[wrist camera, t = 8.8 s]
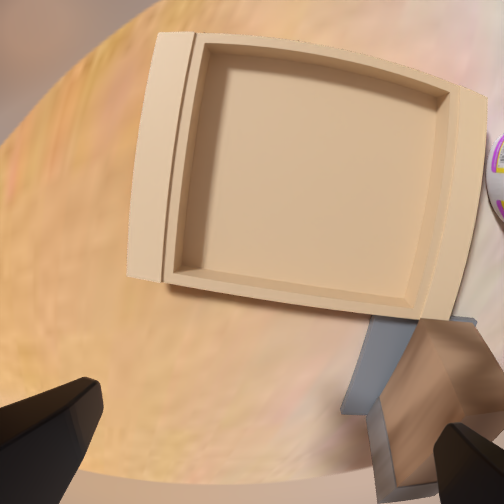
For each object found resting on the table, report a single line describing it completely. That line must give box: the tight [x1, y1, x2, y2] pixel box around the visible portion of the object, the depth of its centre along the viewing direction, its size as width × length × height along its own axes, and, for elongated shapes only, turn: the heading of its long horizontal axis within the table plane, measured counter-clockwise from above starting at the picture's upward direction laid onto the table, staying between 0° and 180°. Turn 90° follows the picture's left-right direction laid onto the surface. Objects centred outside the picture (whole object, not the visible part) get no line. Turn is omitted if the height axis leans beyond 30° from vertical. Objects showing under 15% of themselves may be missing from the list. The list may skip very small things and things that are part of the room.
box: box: [366, 318, 504, 504], centre depth 14 cm, size 4×9×7 cm, turn 172°
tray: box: [127, 32, 487, 321], centre depth 16 cm, size 18×13×2 cm
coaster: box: [340, 315, 477, 415], centre depth 19 cm, size 8×8×1 cm
